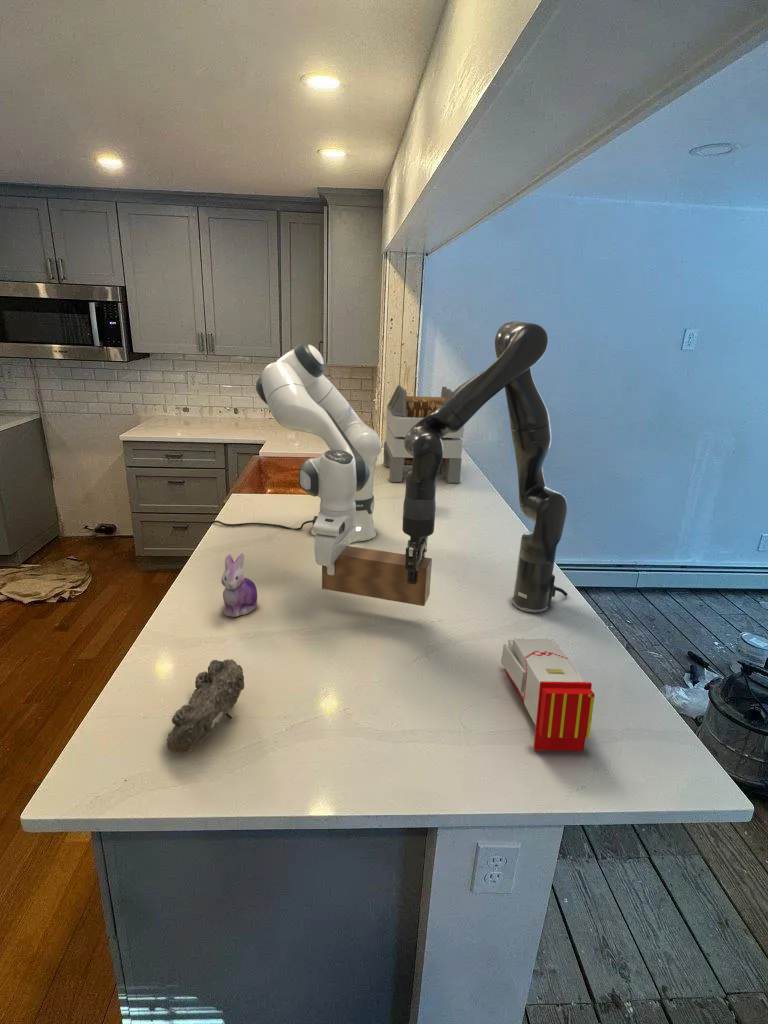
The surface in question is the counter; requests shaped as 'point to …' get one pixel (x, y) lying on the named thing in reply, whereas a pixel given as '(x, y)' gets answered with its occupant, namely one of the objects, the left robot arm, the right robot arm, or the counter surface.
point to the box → (378, 576)
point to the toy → (550, 693)
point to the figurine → (237, 589)
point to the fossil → (206, 705)
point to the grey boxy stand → (403, 418)
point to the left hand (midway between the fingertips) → (336, 567)
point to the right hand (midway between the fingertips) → (415, 577)
